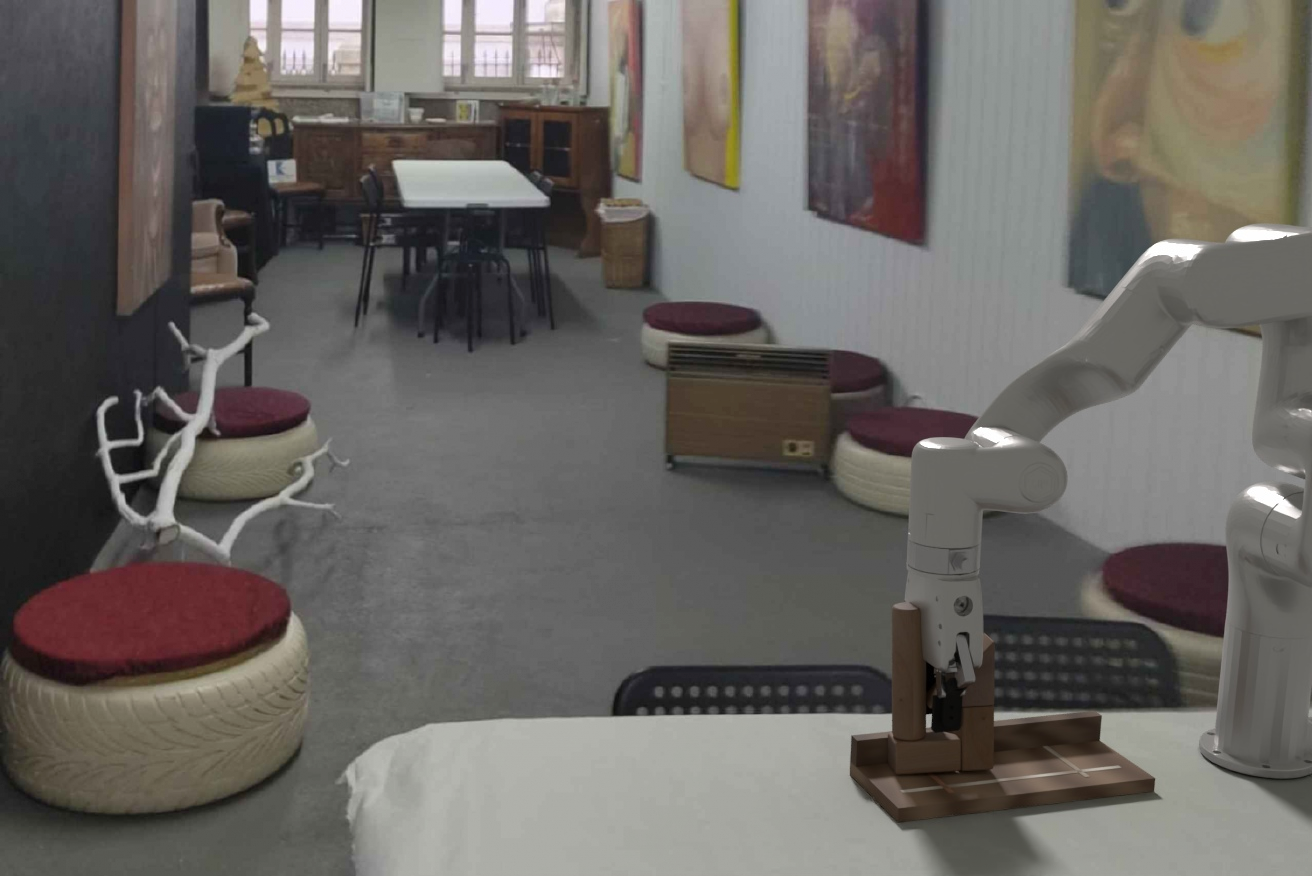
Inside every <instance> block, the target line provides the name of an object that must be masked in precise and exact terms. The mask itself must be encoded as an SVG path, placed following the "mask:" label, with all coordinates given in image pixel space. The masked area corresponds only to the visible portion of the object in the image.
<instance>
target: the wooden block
mask: <svg viewBox="0 0 1312 876" xmlns="http://www.w3.org/2000/svg"><path fill="white" fill-rule="evenodd" d="M995 643H996V642H995V641H994V640H993V639H992V638H991V637H990V636H989V635H987V634H986V633H985V632H983V660H982V665H981V666H980V668H973V670H974V674H975V682H974V683H973V684H971V685H969V686H968V687H967V688H966V689H965V695H964V696H963V698H962V716H961V728H960V730H958V731H953V734H951V733H947V732H940V733H935V732H934V731H932V730H926V728H927V715H926V704H927V706H928V707H929V708H930V709H932V702H933V695H937V691H936V683H935V684H934V685H933V686H932V687H931V688H930V689H929V690H928V691H927V692H926V661H925V660H924V659H923V651H922V639H921V611H920V609H919V608H918V607H916V606H915V605H913V604H911V603H910V602H904V601H902V602H898V603H894V604H893V605H892V607H891V731H892V732H891V733H888V763H889V765H890V766H891V768H892V769H893V771H894V772H895V774H897V775H898V774H914V773H931V772H948V771H960V769H961V770H962V771H974V770H990V769H993V766H994V721H995V707H994V705H995V674H996V673H995V664H996V661H995V658H996V657H995V652H996V649H995V647H996V645H995ZM952 665H956V662H955V661H954V663H953V664H952ZM945 677H946V682H947V681H948V680H949V679H950V678H952V677H955V673H948V674H945Z"/></svg>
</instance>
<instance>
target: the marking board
mask: <svg viewBox="0 0 1312 876" xmlns="http://www.w3.org/2000/svg"><path fill="white" fill-rule="evenodd" d="M1102 717H1103V716H1102V714H1100V713H1099V712H1097V711H1095V710H1089V711H1087V710H1086V711H1077V712H1069V713H1059V714H1048V715H1039V716H1038V715H1037V716H1029V717H1020V718H1009V719H999V720H994V766H993V769H990V770H974V771H962V770H961V769H960V771H948V772H931V773H914V774H898V775H897V774H895V772H894V771H893V769H892V768H891V766H890V765H889V763H888V733H891V732H892V730H891V731H884V732H883V731H882V732H871V733H862V734H852V735H851V736H850V740H851V741H850V758H849V760H850V761H849V776H851V777H852V778H853V779H854V781H856V782H857V783H858V785H860V787H862V788H863V789H864V790H865V791H866V792H867V793H868V794H869V795H870V796H871V797H872V798H873V799H874V800H875V801H876V802H877V803H878V804H879V805H880V806H881V807H882V808H883V810H885V811H886V812H887V814H889V815H890V816H891V817H892V818H893V819H894V820H895V821H896V822H897V823H904V822H910V821H918V820H919V821H920V820H927V819H935V818H942V817H951V816H961V815H968V814H969V815H970V814H977V813H985V812H993V811H994V812H995V811H1002V810H1009V809H1017V808H1026V807H1034V806H1035V807H1036V806H1042V805H1052V804H1061V803H1068V802H1076V801H1084V800H1085V801H1086V800H1093V799H1101V798H1102V799H1103V798H1109V797H1117V796H1118V797H1119V796H1126V795H1133V794H1134V795H1136V794H1143V793H1151V792H1155V789H1156V788H1155V787H1156V786H1155V785H1156V777H1154V776H1153V775H1151V774H1150V773H1149V772H1147V771H1146V770H1144V769H1143V768H1141V767H1139V766H1138V765H1137V764H1135V763H1134V762H1132V761H1130V760H1129V759H1127V758H1126V757H1125V756H1124V755H1122V754H1120V753H1119V752H1117V751H1116V750H1115V749H1113V748H1112V747H1110V746H1108V745H1107V744H1106V743H1104V742H1102V741H1101V733H1102V732H1101V731H1102V730H1101V729H1102V719H1103V718H1102ZM926 730H932V729H931V726H930V727H926ZM947 733H951V734H953V731H949V732H947Z"/></svg>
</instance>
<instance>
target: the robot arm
mask: <svg viewBox="0 0 1312 876" xmlns="http://www.w3.org/2000/svg"><path fill="white" fill-rule="evenodd" d="M1192 325H1195V326H1199V327H1204V328H1209V329H1217V330H1219V329H1221V330H1222V329H1235V328H1244V327H1253V326H1259V328H1260V333H1261V341H1262V343H1261V344H1262V346H1261V347H1262V349H1261V363H1260V364H1261V365H1260V371H1259V378H1258V386H1257V391H1256V400H1255V407H1254V408H1255V409H1254V415H1253V420H1252V428H1251V429H1252V430H1251V431H1252V433H1251V441H1252V443H1251V445H1252V447H1253V450H1254V453H1255V454H1256V456H1257V457H1258V458H1259V460H1261V461H1262V462H1263V463H1264V464H1266V465H1268V466H1270V467H1271V468H1273V469H1276V470H1278V471H1280V472H1283V473H1285V474H1289V475H1291V476H1293V477H1297V478H1300V479H1303V480H1304V481H1305V482H1304V487H1301V486H1299V485H1296V484H1292V483H1288V482H1284V481H1275V480H1274V481H1273V480H1268V481H1261V482H1257V483H1254V484H1252V485H1249V486H1247V487H1246V488H1245V489H1243V490H1241V492H1239V494H1238V495H1237V496H1236V497H1235V498H1234V500H1233V501H1232V503H1231V504H1230V507H1229V508H1228V512H1227V516H1226V521H1225V527H1224V528H1225V530H1224V531H1225V545H1226V547H1225V548H1226V557H1227V568H1228V591H1227V603H1226V613H1225V615H1226V616H1225V621H1224V622H1225V623H1224V634H1223V644H1222V653H1221V654H1222V655H1221V664H1220V676H1219V683H1218V693H1217V694H1218V695H1217V705H1216V715H1215V717H1216V718H1215V723H1214V724H1215V726H1214V728H1212V729H1208V730H1207V731H1205V732H1203V733H1202V734H1201V735H1200V736H1199V740H1198V741H1199V742H1198V749H1199V752H1200V753H1201V754H1202V755H1203V756H1204V757H1205V758H1206V759H1207V760H1209V761H1210V762H1212V763H1214V764H1215V765H1218V766H1219V767H1222V768H1225V769H1226V770H1230V771H1233V772H1236V773H1239V774H1243V775H1248V776H1252V777H1259V778H1265V779H1266V778H1267V779H1277V780H1278V779H1283V780H1285V779H1297V778H1303V777H1305V776H1309V775H1312V716H1309V713H1310V705H1311V697H1312V696H1311V695H1312V227H1311V226H1310V227H1309V226H1299V225H1292V224H1283V223H1272V222H1270V223H1269V222H1267V223H1264V222H1261V223H1252V224H1251V223H1250V224H1247V225H1245V226H1242V227H1239V228H1237V229H1235V230H1234V231H1233V232H1232V233H1230V234H1229V235H1228V237H1227V238H1226V240H1225V242H1217V241H1215V242H1214V241H1207V240H1200V239H1199V240H1198V239H1189V238H1168V239H1164V240H1161V241H1157V243H1154V244H1153V245H1152V246H1150V247H1149V248H1147V249H1146V250H1145V252H1143V253H1142V254H1141V255H1140V256H1139V257H1138V259H1137V260H1136V261H1135V262H1134V264H1133V265H1132V266H1131V267H1130V269H1128V271H1127V272H1126V273H1125V274H1124V275H1123V277H1122V278H1121V279H1120V280H1119V282H1118V283H1117V284H1116V285H1115V287H1114V288H1113V289H1112V290H1111V292H1110V293H1108V295H1107V296H1106V298H1104V300H1103V301H1102V302H1101V304H1100V305H1099V306H1098V307H1097V308H1096V310H1095V311H1094V312H1093V313H1092V315H1091V316H1090V317H1089V318H1088V319H1087V320H1086V321H1085V323H1084V324H1083V325H1082V326H1081V328H1080V329H1079V330H1078V331H1077V332H1076V333H1075V334H1074V336H1073V337H1072V338H1071V339H1070V340H1069V341H1068V342H1067V343H1066V344H1065V345H1063V346H1061V347H1060V348H1058V349H1057V350H1055V351H1053V352H1051V353H1050V354H1049V355H1047V356H1045V358H1043V359H1041V360H1040V361H1039V362H1037V363H1036V364H1034V365H1033V366H1032V367H1030V368H1029V369H1027V370H1025V372H1023V373H1022V374H1020V375H1019V376H1017V377H1016V378H1015V379H1013V380H1012V381H1011V382H1010V383H1009V384H1008V385H1007V386H1005V388H1004V389H1002V390H1001V391H1000V392H999V393H998V394H997V396H996V397H995V398H994V399H993V400H992V401H991V402H990V403H989V405H988V406H987V407H986V408H985V410H984V411H983V412H982V413H981V415H980V416H979V417H978V418H977V419H976V421H975V422H974V423H973V425H972V426H971V427H970V429H969V430H968V432H967V433H966V435H965V437H964V438H961V437H959V438H958V437H945V436H944V437H943V436H941V437H940V436H939V437H929V438H925V439H922V440H920V441H918V442H917V443H916V444H915V445H914V447H913V449H912V452H911V459H910V460H911V463H910V478H909V479H910V483H909V504H908V505H909V507H908V508H909V509H908V526H907V527H908V528H907V529H908V530H907V549H906V570H907V576H906V584H905V591H904V601H903V602H910V603H911V604H913V605H915V606H916V607H918V608H919V609H920V611H921V639H922V651H923V659H924V660H925V661H926V692H927V691H928V690H929V689H930V688H931V687H932V686H933V685H934V684H935V683H936V691H937V695H933V702H932V709H930V708H929V707H928V706H927V704H926V716H927V715H931V723H930V725H931V726H930V727H931V729H932V731H934V732H935V733H940V732H949V731H958V730H960V728H961V716H962V698H963V696H964V695H965V689H966V688H967V687H968V686H969V685H971V684H973V683H974V682H975V674H974V670H973V668H980V666H981V665H982V660H983V633H984V611H983V610H984V609H983V607H984V605H983V596H982V595H983V594H982V585H981V579H980V577H979V576H978V575H980V568H981V564H980V563H981V550H982V549H981V548H982V535H983V531H982V530H983V518H984V517H983V513H984V511H994V512H995V511H997V512H1005V513H1014V514H1024V515H1025V514H1026V515H1027V514H1036V513H1040V512H1043V511H1046V510H1048V509H1051V507H1054V505H1056V504H1057V503H1058V502H1059V501H1060V500H1061V498H1062V497H1063V496H1064V494H1065V492H1066V489H1067V486H1068V470H1067V467H1066V465H1065V463H1064V461H1063V459H1062V458H1061V457H1060V455H1058V454H1057V452H1055V450H1053V449H1052V448H1051V447H1048V446H1047V445H1045V444H1043V443H1041V441H1043V439H1044V438H1045V437H1046V436H1047V435H1048V434H1049V433H1051V431H1052V430H1054V428H1055V427H1057V426H1059V424H1060V423H1062V422H1064V421H1065V420H1066V419H1069V417H1072V416H1073V415H1075V414H1077V413H1079V412H1081V411H1084V410H1087V409H1089V408H1093V407H1096V406H1099V405H1103V404H1104V405H1105V404H1107V403H1111V402H1115V401H1117V400H1119V399H1122V398H1125V397H1127V396H1131V395H1132V394H1133V393H1135V392H1137V390H1139V389H1140V388H1141V387H1142V385H1143V384H1144V383H1145V382H1146V380H1147V379H1148V378H1149V377H1150V375H1152V373H1153V372H1154V370H1155V369H1156V368H1157V367H1158V365H1159V364H1160V363H1161V362H1162V361H1163V360H1164V358H1165V357H1166V356H1167V354H1169V352H1170V351H1171V350H1172V349H1173V347H1175V345H1176V344H1177V343H1178V341H1179V340H1180V339H1181V338H1182V337H1183V336H1184V335H1185V333H1186V332H1187V331H1188V330H1189V329H1190V327H1191V326H1192ZM949 662H954V663H955V662H956V665H953V664H952V665H949V664H950V663H949ZM948 673H955V677H952V678H950V679H949V680H948V681H947V682H946V677H945V674H948Z"/></svg>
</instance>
